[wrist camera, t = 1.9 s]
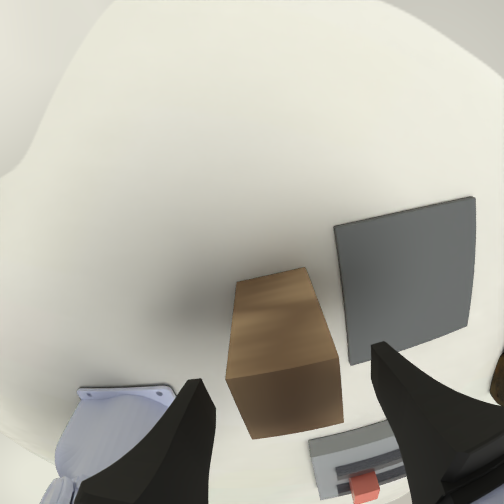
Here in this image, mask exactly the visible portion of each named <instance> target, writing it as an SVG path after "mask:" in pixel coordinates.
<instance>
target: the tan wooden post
mask: <svg viewBox="0 0 504 504" xmlns="http://www.w3.org/2000/svg"><path fill="white" fill-rule="evenodd" d="M225 380H226V382H227V384H228V387H229V389H230V391H231V394H232V396H233V398H234V401H235V403H236V405H237V407H238V410H239V412H240V414H241V416H242V419H243V421H244V423H245V425H246V427H247V430H248V432H249V434H250V436H251V438H252V439H260V438H268V437H274V436H281V435H287V434H293V433H298V432H304V431H309V430H314V429H318V428H323V427H327V426H332V425H336V424H340V423H344V418H343V402H342V388H341V375H340V364H339V356H338V353H337V351H336V348H335V345H334V342H333V339H332V337H331V334H330V331H329V329H328V326H327V323H326V320H325V318H324V315H323V312H322V310H321V307H320V304H319V302H318V299H317V296H316V294H315V291H314V289H313V286H312V283H311V281H310V278H309V276H308V273H307V271H306V268H305V267H303V268H298V269H294V270H290V271H285V272H281V273H276V274H272V275H267V276H262V277H258V278H253V279H249V280H244V281H239V282H237V284H236V292H235V301H234V309H233V317H232V326H231V334H230V343H229V352H228V360H227V369H226V378H225Z"/></svg>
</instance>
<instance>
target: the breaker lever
mask: <svg viewBox="0 0 504 504" xmlns="http://www.w3.org/2000/svg"><path fill="white" fill-rule="evenodd" d="M349 484H350V489H351V493H352V498H353V503H354V504H361V503H364V502H368V501H371V500H375V499H377V498H378V494H379V491H380V487H379V484H378V480H377V477H376V473H375V471H373V472H370V473H366V474H363V475H359V476H355V477H352V478H349Z"/></svg>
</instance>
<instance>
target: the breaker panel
mask: <svg viewBox="0 0 504 504" xmlns="http://www.w3.org/2000/svg"><path fill="white" fill-rule="evenodd" d="M309 447H310V453H311V459H312V464H313V468H314V473H315V477H316V482H317V487H318V491H319V496H320V500H324V499H329V498H334V497H339V496H343V495H347V494H351V489H350V484H349V478H352V477H355V476H359V475H363V474H366V473H370V472H373V471H375V473H376V477H377V480H378V484H379V486H380V485H383V484H386V483H389V482H392V481H395V480H398V479H401V478H403V477H406V476H407V475H406V471H405V467H404V464H403V460H402V457H401V453H400V450H399V446H398V443H397V441H396V438H395V436H394V433H393V431H392V429H391V427H390V425H389V423H388V420H386V421H382V422H379V423H376V424H373V425H369V426H366V427H363V428H359V429H355V430H352V431H348V432H344V433H340V434H336V435H332V436H327V437H323V438H318V439H313V440H309Z"/></svg>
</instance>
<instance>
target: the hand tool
mask: <svg viewBox="0 0 504 504" xmlns="http://www.w3.org/2000/svg"><path fill="white" fill-rule="evenodd" d="M490 394H491V396H492V397H493V399H494V400H495V401H496V402H497V403H498V404H499V405H501V406H504V353H503V354H502V355H501V356H500V358H499V361H498V363H497V366H496V369H495V372H494V376H493V379H492V384H491V389H490Z"/></svg>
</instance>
